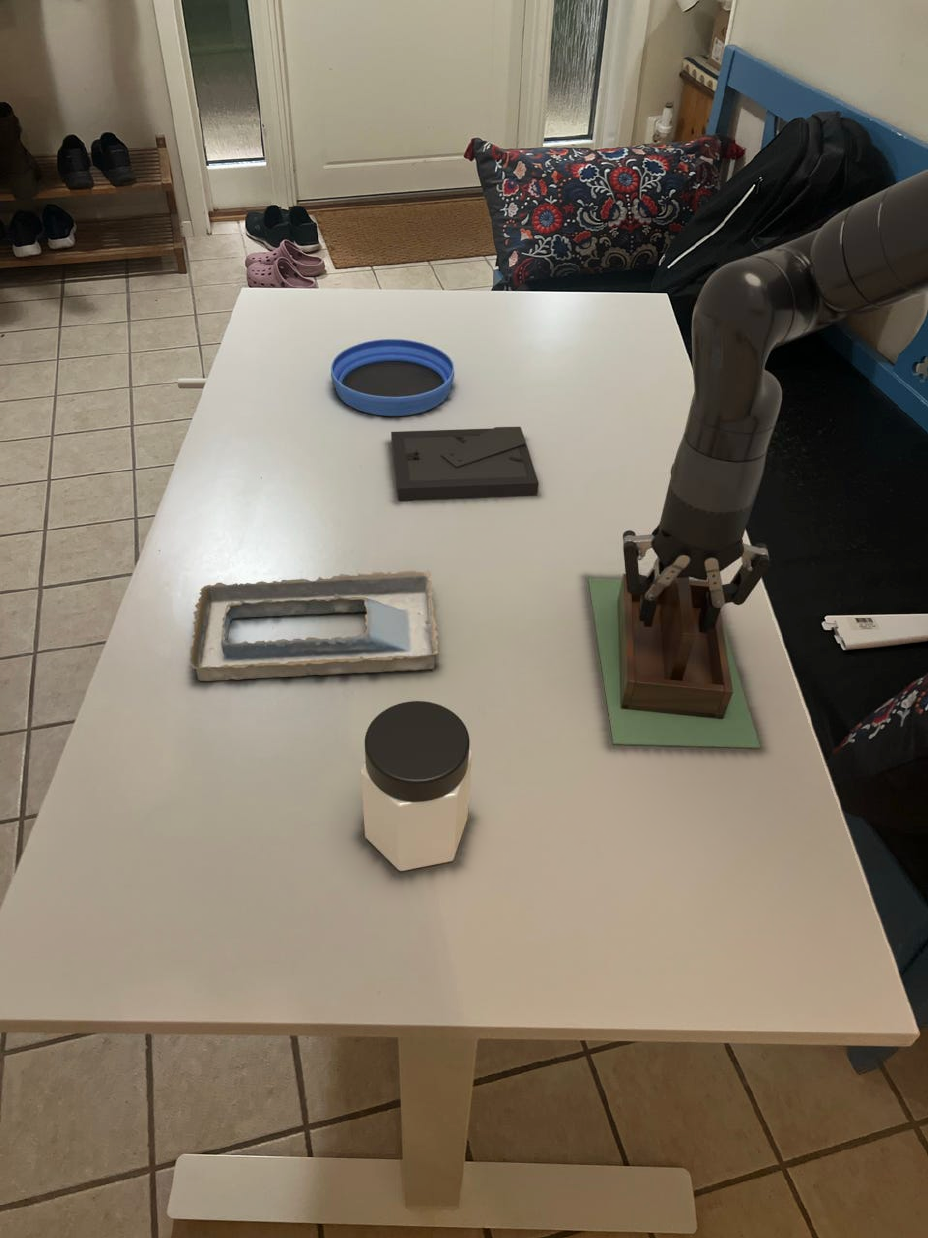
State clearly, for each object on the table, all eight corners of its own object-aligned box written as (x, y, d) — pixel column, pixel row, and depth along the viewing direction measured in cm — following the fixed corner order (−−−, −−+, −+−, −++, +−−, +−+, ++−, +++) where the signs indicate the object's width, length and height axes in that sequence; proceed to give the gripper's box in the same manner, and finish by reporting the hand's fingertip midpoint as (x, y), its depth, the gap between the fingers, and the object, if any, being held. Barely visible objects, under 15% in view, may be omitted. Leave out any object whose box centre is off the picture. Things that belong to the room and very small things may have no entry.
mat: (759, 748, 84) (760, 747, 84) (612, 744, 84) (613, 743, 84) (709, 583, 102) (710, 582, 102) (588, 579, 101) (588, 578, 101)
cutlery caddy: (723, 719, 86) (746, 654, 80) (620, 708, 87) (636, 643, 81) (708, 609, 98) (727, 545, 92) (617, 600, 99) (630, 536, 92)
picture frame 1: (440, 675, 90) (441, 654, 88) (188, 689, 87) (182, 669, 85) (429, 588, 99) (429, 568, 97) (201, 599, 96) (196, 578, 94)
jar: (456, 781, 80) (460, 691, 72) (479, 858, 74) (487, 770, 66) (357, 798, 78) (351, 708, 70) (373, 879, 73) (368, 792, 64)
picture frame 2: (519, 439, 123) (391, 443, 121) (521, 425, 121) (391, 429, 119) (537, 495, 113) (398, 501, 111) (539, 480, 112) (398, 486, 110)
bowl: (460, 364, 138) (460, 343, 135) (446, 425, 125) (446, 402, 122) (345, 355, 139) (344, 333, 136) (319, 413, 126) (318, 391, 123)
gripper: (632, 501, 76) (603, 643, 87) (803, 517, 75) (751, 658, 87) (630, 453, 81) (603, 593, 93) (789, 468, 80) (741, 606, 92)
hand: (674, 623), depth 90 cm, fingers open, 5 cm apart
